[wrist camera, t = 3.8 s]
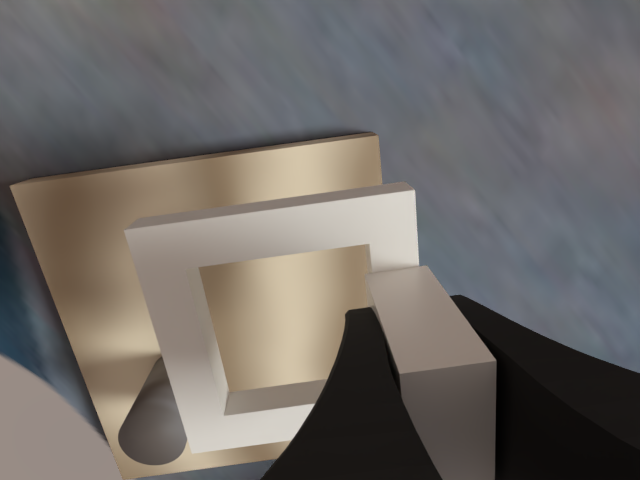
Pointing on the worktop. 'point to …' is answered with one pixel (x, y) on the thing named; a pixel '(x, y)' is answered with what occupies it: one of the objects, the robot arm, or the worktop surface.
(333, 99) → the worktop surface
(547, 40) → the worktop surface
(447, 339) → the collar
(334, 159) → the board
